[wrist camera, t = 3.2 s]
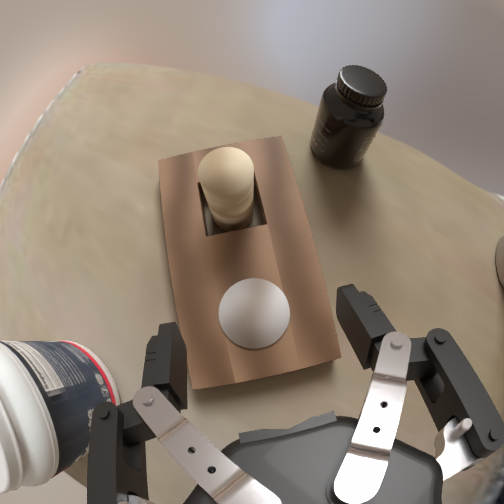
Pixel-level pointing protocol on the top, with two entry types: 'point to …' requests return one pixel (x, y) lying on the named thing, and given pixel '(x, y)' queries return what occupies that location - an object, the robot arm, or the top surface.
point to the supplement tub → (47, 408)
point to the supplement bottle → (348, 117)
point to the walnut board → (246, 275)
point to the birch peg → (228, 186)
